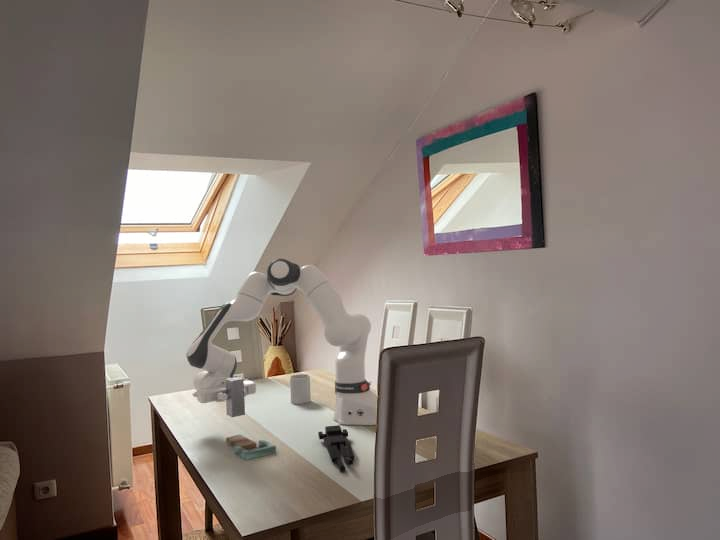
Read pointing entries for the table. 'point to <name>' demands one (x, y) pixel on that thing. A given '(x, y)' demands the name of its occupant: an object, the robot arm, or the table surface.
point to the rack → (250, 447)
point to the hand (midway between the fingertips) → (236, 395)
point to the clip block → (235, 397)
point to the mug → (300, 389)
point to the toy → (337, 445)
